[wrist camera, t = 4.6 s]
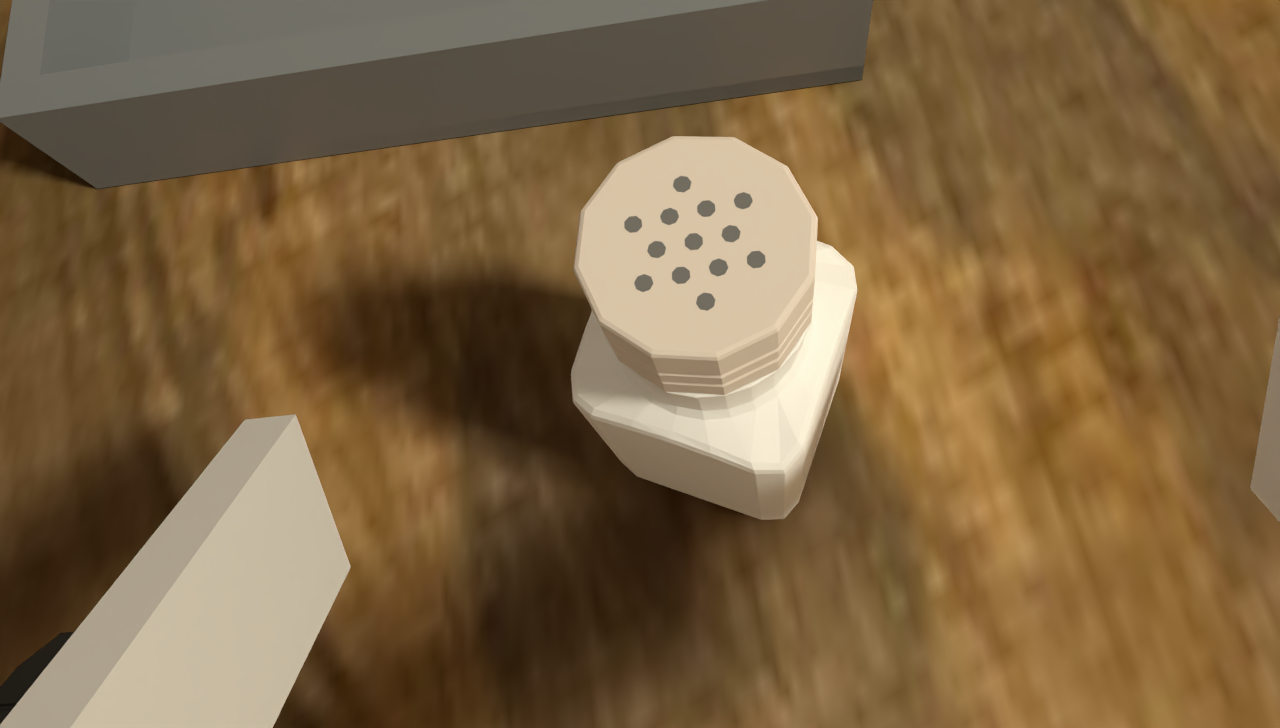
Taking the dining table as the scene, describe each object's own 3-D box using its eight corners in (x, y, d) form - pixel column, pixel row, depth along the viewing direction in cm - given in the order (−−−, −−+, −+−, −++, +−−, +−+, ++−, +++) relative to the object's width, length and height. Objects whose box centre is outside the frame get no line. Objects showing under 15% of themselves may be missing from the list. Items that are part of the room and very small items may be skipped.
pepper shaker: (845, 362, 21) (892, 145, 12) (789, 533, 20) (795, 435, 11) (676, 310, 22) (605, 75, 13) (615, 472, 21) (495, 336, 12)
